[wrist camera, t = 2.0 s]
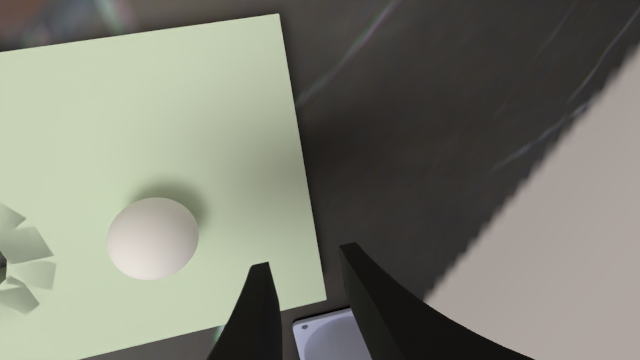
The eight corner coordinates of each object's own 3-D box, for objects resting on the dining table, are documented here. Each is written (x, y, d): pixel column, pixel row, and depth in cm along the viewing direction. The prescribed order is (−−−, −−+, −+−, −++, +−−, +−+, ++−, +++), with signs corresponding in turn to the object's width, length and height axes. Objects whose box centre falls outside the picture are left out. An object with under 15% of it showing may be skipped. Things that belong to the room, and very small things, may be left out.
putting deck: (276, 16, 16) (279, 13, 14) (320, 275, 24) (326, 299, 22) (-261, 91, 14) (-362, 102, 11) (-15, 352, 22) (-46, 389, 19)
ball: (191, 177, 16) (173, 216, 13) (212, 238, 18) (202, 287, 15) (113, 192, 16) (71, 237, 12) (142, 252, 18) (113, 307, 14)
